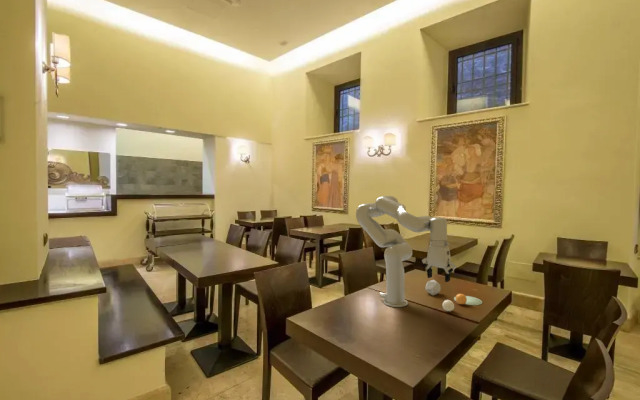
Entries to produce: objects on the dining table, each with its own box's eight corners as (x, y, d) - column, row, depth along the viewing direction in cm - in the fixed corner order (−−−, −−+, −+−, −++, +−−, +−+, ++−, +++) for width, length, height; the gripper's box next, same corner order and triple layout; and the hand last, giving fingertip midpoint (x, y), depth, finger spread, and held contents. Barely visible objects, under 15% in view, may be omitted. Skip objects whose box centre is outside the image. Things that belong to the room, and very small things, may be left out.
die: (443, 297, 172) (444, 281, 177) (433, 292, 169) (434, 275, 175) (431, 298, 179) (432, 283, 184) (421, 293, 176) (422, 277, 181)
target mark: (451, 301, 164) (451, 301, 164) (456, 294, 175) (456, 294, 175) (480, 307, 156) (480, 306, 156) (483, 299, 167) (483, 298, 167)
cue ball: (441, 311, 151) (441, 300, 150) (443, 308, 155) (443, 297, 155) (453, 314, 147) (452, 302, 147) (455, 310, 152) (455, 299, 152)
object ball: (454, 304, 160) (454, 294, 159) (456, 301, 164) (456, 291, 164) (465, 306, 156) (465, 296, 156) (467, 303, 161) (467, 293, 161)
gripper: (460, 244, 140) (460, 281, 141) (426, 240, 153) (426, 274, 154) (452, 246, 135) (452, 285, 136) (417, 242, 148) (417, 277, 149)
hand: (438, 279), depth 145 cm, fingers open, 8 cm apart
